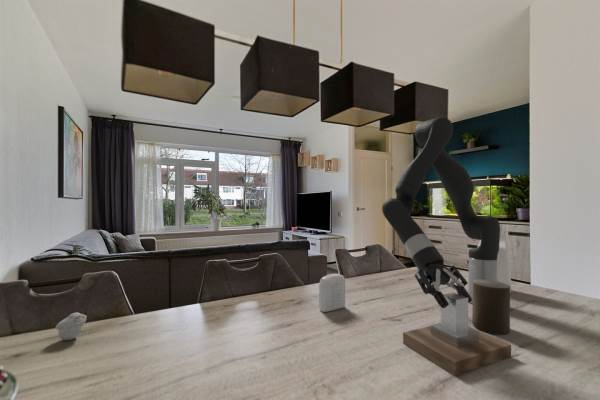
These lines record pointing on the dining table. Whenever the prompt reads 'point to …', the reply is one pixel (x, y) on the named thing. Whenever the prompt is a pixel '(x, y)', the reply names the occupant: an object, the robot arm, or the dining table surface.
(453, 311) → the block
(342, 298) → the photo printer
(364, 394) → the dining table surface
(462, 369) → the walnut plinth
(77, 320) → the frog figurine
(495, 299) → the pillar candle
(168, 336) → the dining table surface
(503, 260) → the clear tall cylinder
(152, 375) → the dining table surface
